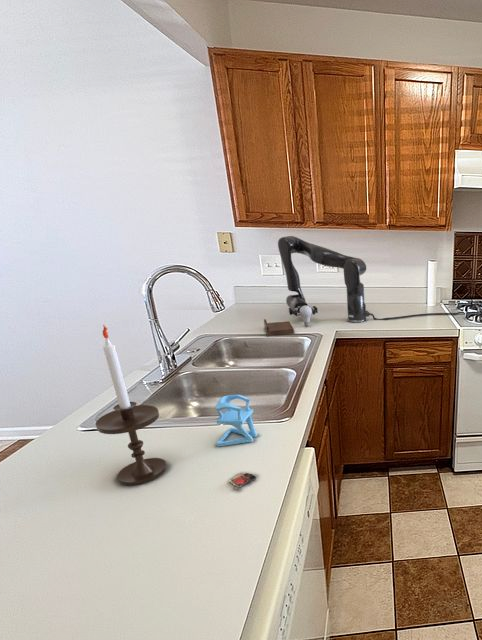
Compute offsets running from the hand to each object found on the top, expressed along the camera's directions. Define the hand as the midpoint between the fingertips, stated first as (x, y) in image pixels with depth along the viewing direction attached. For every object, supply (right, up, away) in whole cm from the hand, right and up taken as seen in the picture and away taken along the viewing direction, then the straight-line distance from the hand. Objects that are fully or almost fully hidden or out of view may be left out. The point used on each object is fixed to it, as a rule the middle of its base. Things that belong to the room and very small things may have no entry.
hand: (305, 313), depth 203 cm
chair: (+14, -45, -99) cm, 110 cm away
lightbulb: (+1, -7, +1) cm, 7 cm away
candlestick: (-1, -50, -113) cm, 124 cm away
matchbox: (+23, -51, -115) cm, 128 cm away
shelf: (-11, -9, -8) cm, 16 cm away
